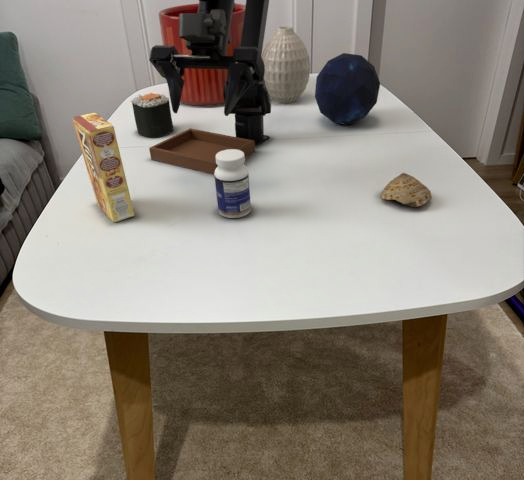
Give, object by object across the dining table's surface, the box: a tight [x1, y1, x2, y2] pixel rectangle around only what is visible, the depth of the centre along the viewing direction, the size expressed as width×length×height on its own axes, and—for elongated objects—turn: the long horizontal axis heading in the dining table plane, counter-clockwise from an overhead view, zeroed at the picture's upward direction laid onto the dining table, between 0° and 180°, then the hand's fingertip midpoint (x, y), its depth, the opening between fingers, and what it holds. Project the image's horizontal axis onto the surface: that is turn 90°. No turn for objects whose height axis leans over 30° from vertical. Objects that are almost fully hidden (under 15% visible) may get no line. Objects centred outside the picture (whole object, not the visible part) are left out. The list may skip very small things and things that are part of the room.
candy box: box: [72, 112, 135, 223], centre depth 85 cm, size 9×4×15 cm, turn 33°
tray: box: [148, 127, 256, 175], centre depth 107 cm, size 14×18×2 cm
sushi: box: [130, 92, 174, 139], centre depth 118 cm, size 8×8×8 cm
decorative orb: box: [314, 52, 381, 126], centre depth 116 cm, size 14×15×15 cm
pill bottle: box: [213, 149, 252, 219], centre depth 85 cm, size 6×6×10 cm
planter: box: [158, 2, 246, 107], centre depth 135 cm, size 23×23×20 cm
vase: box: [261, 25, 311, 104], centre depth 130 cm, size 13×13×17 cm
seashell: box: [380, 172, 433, 208], centre depth 88 cm, size 8×6×8 cm
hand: (199, 113), depth 85 cm, fingers open, 9 cm apart
